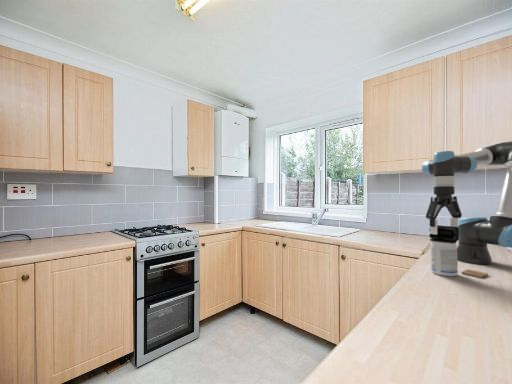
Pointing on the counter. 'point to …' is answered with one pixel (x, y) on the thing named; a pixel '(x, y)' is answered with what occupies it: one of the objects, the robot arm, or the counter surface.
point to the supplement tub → (444, 258)
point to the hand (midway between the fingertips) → (444, 233)
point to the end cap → (446, 234)
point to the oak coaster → (475, 273)
